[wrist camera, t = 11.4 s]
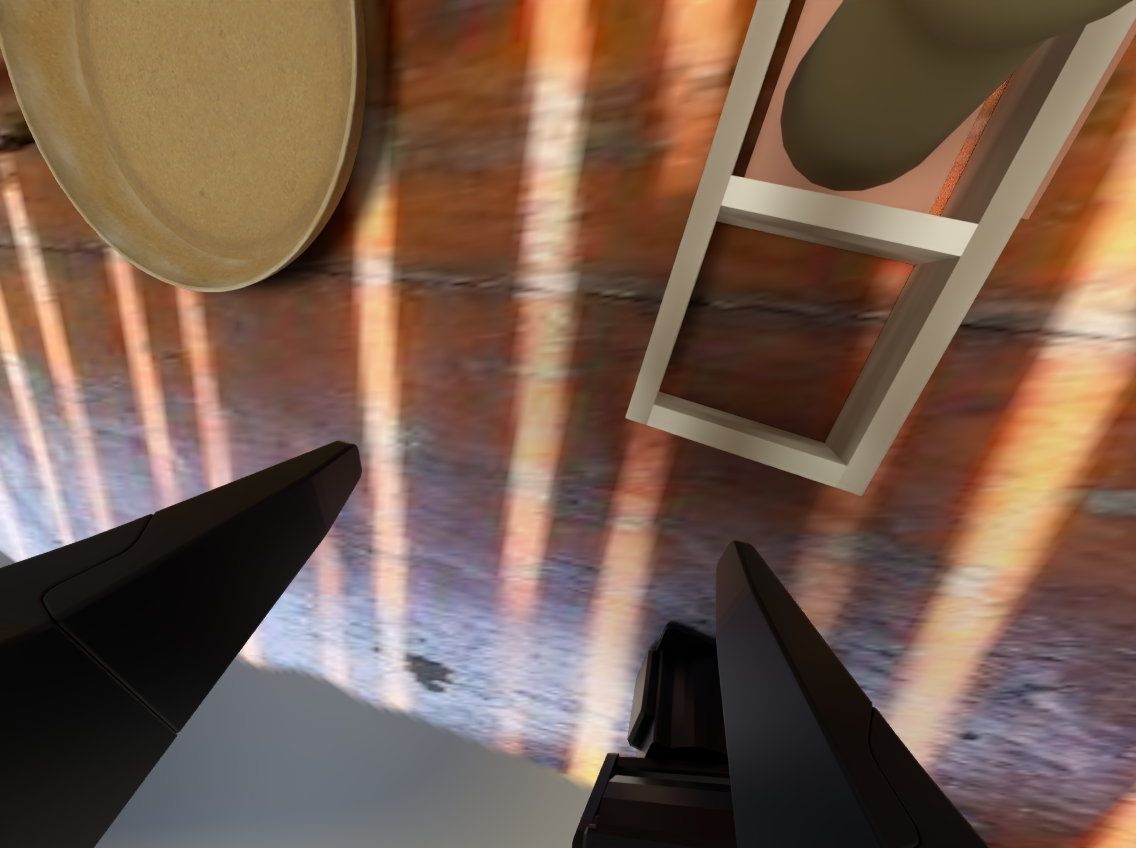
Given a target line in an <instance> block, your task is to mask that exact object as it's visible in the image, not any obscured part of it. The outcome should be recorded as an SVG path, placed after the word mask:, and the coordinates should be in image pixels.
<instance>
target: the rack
mask: <svg viewBox="0 0 1136 848" xmlns="http://www.w3.org/2000/svg"><path fill="white" fill-rule="evenodd" d="M842 2H843V0H806V1H805V4H804V7H803V10H802V13H801V16H800V18H799V21H798V24H797V27H796V30H795V33H794V36H793V38H792V41H791V44H790V47H789V50H788V53H787V56H786V59H785V61H784V64H783V67H782V70H781V73H780V76H779V79H778V82H777V84H776V87H775V90H774V93H773V96H772V99H771V102H770V104H769V107H768V110H767V113H766V116H765V119H764V122H763V125H762V127H761V130H760V133H759V136H758V139H757V142H756V145H755V147H754V150H753V153H752V156H751V159H750V162H749V165H748V168H747V170H746V173H745V176H744V178H742V177H737V176H732V174H733V171H734V168H735V165H736V162H737V159H738V156H739V153H740V151H741V148H742V145H743V142H744V139H745V136H746V133H747V130H748V127H749V124H750V121H751V118H752V115H753V112H754V109H755V106H756V103H757V100H758V97H759V94H760V92H761V89H762V86H763V83H764V80H765V77H766V74H767V71H768V68H769V65H770V62H771V59H772V56H773V53H774V50H775V47H776V44H777V41H778V38H779V35H780V33H781V30H782V27H783V24H784V21H785V18H786V15H787V12H788V9H789V6H790V3H791V0H758V1H757V4H756V7H755V10H754V13H753V16H752V20H751V23H750V26H749V29H748V32H747V35H746V39H745V42H744V45H743V48H742V51H741V54H740V57H739V61H738V64H737V67H736V70H735V73H734V76H733V80H732V83H731V86H730V89H729V92H728V95H727V99H726V102H725V105H724V108H723V111H722V114H721V117H720V121H719V124H718V127H717V130H716V133H715V136H714V140H713V143H712V146H711V149H710V152H709V155H708V158H707V162H706V165H705V168H704V171H703V174H702V177H701V181H700V184H699V187H698V190H697V193H696V196H695V200H694V203H693V206H692V209H691V212H690V215H689V218H688V222H687V225H686V228H685V231H684V234H683V237H682V241H681V244H680V247H679V250H678V253H677V256H676V260H675V263H674V266H673V269H672V272H671V275H670V278H669V282H668V285H667V288H666V291H665V294H664V297H663V301H662V304H661V307H660V310H659V313H658V316H657V319H656V323H655V326H654V329H653V332H652V335H651V338H650V342H649V345H648V348H647V351H646V354H645V357H644V361H643V364H642V367H641V370H640V373H639V376H638V379H637V383H636V386H635V389H634V392H633V395H632V398H631V402H630V405H629V408H628V411H627V414H626V417H625V418H627V419H630V420H633V421H636V422H639V423H642V424H645V425H648V426H651V427H654V428H657V429H660V430H663V431H666V432H669V433H672V434H675V435H678V436H681V437H684V438H687V439H690V440H693V441H696V442H699V443H702V444H705V445H708V446H711V447H714V448H717V449H720V450H723V451H727V452H730V453H733V454H736V455H739V456H742V457H745V458H748V459H751V460H754V461H757V462H760V463H763V464H766V465H769V466H772V467H775V468H778V469H781V470H784V471H787V472H790V473H793V474H796V475H799V476H802V477H805V478H808V479H811V480H814V481H817V482H820V483H823V484H826V485H829V486H832V487H836V488H839V489H842V490H845V491H848V492H851V493H854V494H857V495H860V496H862V495H863V493H864V491H865V490H866V488H867V486H868V484H869V483H870V481H871V479H872V477H873V476H874V474H875V472H876V471H877V469H878V467H879V465H880V464H881V462H882V460H883V458H884V457H885V455H886V453H887V451H888V450H889V448H890V446H891V444H892V443H893V441H894V439H895V437H896V436H897V434H898V432H899V430H900V429H901V427H902V425H903V423H904V422H905V420H906V418H907V416H908V415H909V413H910V411H911V409H912V408H913V406H914V404H915V402H916V401H917V399H918V397H919V395H920V394H921V392H922V390H923V388H924V387H925V385H926V383H927V381H928V380H929V378H930V376H931V374H932V373H933V371H934V369H935V367H936V366H937V364H938V362H939V360H940V359H941V357H942V355H943V353H944V352H945V350H946V348H947V346H948V345H949V343H950V341H951V339H952V338H953V336H954V334H955V333H956V331H957V329H958V327H959V326H960V324H961V322H962V320H963V319H964V317H965V315H966V313H967V312H968V310H969V308H970V306H971V305H972V303H973V301H974V299H975V298H976V296H977V294H978V292H979V291H980V289H981V287H982V285H983V284H984V282H985V280H986V278H987V277H988V275H989V273H990V271H991V270H992V268H993V266H994V264H995V263H996V261H997V259H998V257H999V256H1000V254H1001V252H1002V250H1003V249H1004V247H1005V245H1006V243H1007V242H1008V240H1009V238H1010V236H1011V235H1012V233H1013V231H1014V229H1015V228H1016V226H1017V224H1018V222H1021V221H1024V220H1028V219H1029V217H1030V215H1031V214H1032V212H1033V210H1034V208H1035V207H1036V205H1037V203H1038V201H1039V200H1040V198H1041V196H1042V195H1043V193H1044V191H1045V189H1046V188H1047V186H1048V184H1049V182H1050V181H1051V179H1052V177H1053V176H1054V174H1055V172H1056V170H1057V169H1058V167H1059V165H1060V163H1061V162H1062V160H1063V158H1064V157H1065V155H1066V153H1067V151H1068V150H1069V148H1070V146H1071V144H1072V143H1073V141H1074V139H1075V138H1076V136H1077V134H1078V132H1079V131H1080V129H1081V127H1082V125H1083V124H1084V122H1085V120H1086V119H1087V117H1088V115H1089V113H1090V112H1091V110H1092V108H1093V106H1094V105H1095V103H1096V101H1097V99H1098V98H1099V96H1100V94H1101V93H1102V91H1103V89H1104V87H1105V86H1106V84H1107V82H1108V80H1109V79H1110V77H1111V75H1112V74H1113V72H1114V70H1115V68H1116V67H1117V65H1118V63H1119V61H1120V60H1121V58H1122V56H1123V55H1124V53H1125V51H1126V49H1127V48H1128V46H1129V44H1130V42H1131V41H1132V39H1133V37H1134V36H1135V34H1136V0H1133V1H1131V2H1130V3H1128V4H1126V5H1125V6H1123V7H1122V8H1120V9H1118V10H1117V11H1115V12H1114V13H1112V14H1110V15H1109V16H1107V17H1104V18H1102V19H1099V20H1097V21H1094V22H1092V23H1089V24H1087V25H1084V26H1082V27H1080V28H1077V29H1074V30H1071V31H1069V32H1066V33H1063V34H1060V35H1058V36H1055V37H1052V38H1049V39H1047V40H1046V41H1045V42H1044V43H1043V44H1042V45H1041V46H1040V47H1039V48H1038V49H1037V50H1036V51H1035V52H1034V53H1033V54H1032V55H1031V56H1030V57H1029V58H1028V59H1027V60H1026V61H1025V62H1024V63H1023V64H1022V65H1021V66H1020V67H1019V68H1018V69H1017V70H1016V71H1015V72H1014V73H1013V74H1012V76H1011V78H1010V80H1009V82H1008V84H1007V86H1006V88H1005V90H1004V92H1003V94H1002V96H1001V98H1000V100H999V102H998V104H997V106H996V108H995V110H994V112H993V113H992V115H991V117H990V119H989V121H988V123H987V125H986V127H985V129H984V131H983V133H982V135H981V137H980V139H979V141H978V143H977V145H976V147H975V149H974V151H973V153H972V155H971V157H970V159H969V161H968V163H967V164H966V166H965V168H964V170H963V172H962V174H961V176H960V178H959V180H958V182H957V184H956V186H955V188H954V190H953V192H952V194H951V196H950V198H949V200H948V202H947V204H946V206H945V208H944V210H943V212H942V214H941V216H935V215H930V214H929V213H930V211H931V209H932V207H933V205H934V203H935V201H936V199H937V197H938V195H939V193H940V191H941V189H942V187H943V185H944V183H945V181H946V179H947V177H948V175H949V173H950V171H951V169H952V167H953V165H954V163H955V161H956V159H957V157H958V155H959V153H960V151H961V149H962V147H963V145H964V143H965V141H966V139H967V137H968V135H969V133H970V131H971V129H972V127H973V125H974V123H975V121H976V119H977V117H978V115H979V113H980V111H981V109H982V107H983V105H984V103H985V101H986V100H985V101H984V102H983V103H982V104H981V105H980V106H979V107H978V108H977V109H976V110H975V111H974V112H973V113H972V114H971V115H970V116H969V117H968V118H967V119H966V120H965V121H964V122H963V123H962V124H961V125H960V126H959V127H958V128H957V129H956V130H955V131H954V132H952V133H951V134H950V135H949V136H948V137H947V138H946V139H945V140H944V141H943V142H942V143H941V144H940V145H939V146H938V147H937V148H936V149H935V150H934V151H933V152H932V153H931V154H930V155H929V156H928V157H927V158H926V159H925V160H924V161H923V162H922V163H921V164H920V165H919V166H917V167H915V168H914V169H912V170H911V171H909V172H907V173H906V174H904V175H902V176H901V177H899V178H897V179H896V180H894V181H892V182H890V183H887V184H884V185H880V186H877V187H874V188H870V189H867V190H864V191H833V190H831V189H828V188H825V187H822V186H819V185H816V184H813V183H811V182H810V181H809V180H808V179H807V178H805V177H804V176H803V175H802V174H801V173H800V172H799V171H797V170H796V169H795V168H794V167H793V165H792V163H791V161H790V159H789V157H788V155H787V153H786V151H785V149H784V147H783V141H782V132H781V123H780V118H781V113H782V107H783V102H784V97H785V91H786V89H787V87H788V85H789V83H790V81H791V79H792V77H793V75H794V72H795V70H796V68H797V66H798V64H799V62H800V61H801V59H802V58H803V57H804V55H805V54H806V52H807V51H808V50H809V48H810V47H811V45H812V44H813V43H814V41H815V40H816V38H817V37H818V35H819V34H820V33H821V31H822V30H823V28H824V27H825V26H826V24H827V23H828V21H829V20H830V19H831V17H832V16H833V14H834V13H835V12H836V10H837V9H838V7H839V6H840V5H841V3H842ZM716 221H718V222H722V223H727V224H731V225H736V226H740V227H745V228H749V229H754V230H758V231H763V232H767V233H772V234H776V235H781V236H785V237H790V238H794V239H799V240H803V241H808V242H812V243H817V244H821V245H826V246H831V247H835V248H840V249H844V250H849V251H853V252H858V253H862V254H867V255H871V256H876V257H880V258H885V259H889V260H894V261H898V262H903V263H907V264H912V265H915V267H914V269H913V270H912V272H911V274H910V276H909V278H908V280H907V282H906V284H905V286H904V288H903V290H902V292H901V294H900V296H899V298H898V300H897V302H896V304H895V306H894V308H893V310H892V312H891V314H890V316H889V318H888V320H887V322H886V323H885V325H884V327H883V329H882V331H881V333H880V335H879V337H878V339H877V341H876V343H875V345H874V347H873V349H872V351H871V353H870V355H869V357H868V359H867V361H866V363H865V365H864V367H863V369H862V371H861V373H860V374H859V376H858V378H857V380H856V382H855V384H854V386H853V388H852V390H851V392H850V394H849V396H848V398H847V400H846V402H845V404H844V406H843V408H842V410H841V412H840V414H839V416H838V418H837V420H836V422H835V424H834V426H833V427H832V429H831V431H830V433H829V435H828V437H827V439H826V441H825V443H823V442H820V441H816V440H813V439H810V438H807V437H804V436H800V435H797V434H794V433H791V432H788V431H784V430H781V429H778V428H775V427H771V426H768V425H765V424H762V423H759V422H755V421H752V420H749V419H746V418H743V417H739V416H736V415H733V414H730V413H727V412H723V411H720V410H717V409H714V408H710V407H707V406H704V405H701V404H698V403H694V402H691V401H688V400H685V399H682V398H678V397H675V396H672V395H669V394H666V393H662V392H659V389H660V386H661V384H662V381H663V378H664V375H665V372H666V369H667V366H668V363H669V360H670V357H671V354H672V351H673V348H674V345H675V342H676V339H677V336H678V333H679V330H680V327H681V325H682V322H683V319H684V316H685V313H686V310H687V307H688V304H689V301H690V298H691V295H692V292H693V289H694V286H695V283H696V280H697V277H698V274H699V271H700V269H701V266H702V263H703V260H704V257H705V254H706V251H707V248H708V245H709V242H710V239H711V236H712V233H713V230H714V227H715V224H716Z"/></svg>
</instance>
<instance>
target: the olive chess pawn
mask: <svg viewBox="0 0 1136 848" xmlns="http://www.w3.org/2000/svg"><path fill="white" fill-rule="evenodd" d="M1131 1H1133V0H843V2H842V3H841V5H840V6H839V7H838V9H837V10H836V12H835V13H834V14H833V16H832V17H831V19H830V20H829V21H828V23H827V24H826V26H825V27H824V28H823V30H822V31H821V33H820V34H819V35H818V37H817V38H816V40H815V41H814V43H813V44H812V45H811V47H810V48H809V50H808V51H807V52H806V54H805V55H804V57H803V58H802V59H801V61H800V62H799V64H798V66H797V68H796V70H795V72H794V75H793V77H792V79H791V81H790V83H789V85H788V87H787V89H786V91H785V97H784V102H783V107H782V113H781V118H780V123H781V132H782V141H783V147H784V149H785V151H786V153H787V155H788V157H789V159H790V161H791V163H792V165H793V167H794V168H795V169H796V170H797V171H799V172H800V173H801V174H802V175H803V176H804V177H805V178H807V179H808V180H809V181H810V182H811V183H813V184H816V185H819V186H822V187H825V188H828V189H831V190H833V191H864V190H867V189H870V188H874V187H877V186H880V185H884V184H887V183H890V182H892V181H894V180H896V179H897V178H899V177H901V176H902V175H904V174H906V173H907V172H909V171H911V170H912V169H914V168H915V167H917V166H919V165H920V164H921V163H922V162H923V161H924V160H925V159H926V158H927V157H928V156H929V155H930V154H931V153H932V152H933V151H934V150H935V149H936V148H937V147H938V146H939V145H940V144H941V143H942V142H943V141H944V140H945V139H946V138H947V137H948V136H949V135H950V134H951V133H952V132H954V131H955V130H956V129H957V128H958V127H959V126H960V125H961V124H962V123H963V122H964V121H965V120H966V119H967V118H968V117H969V116H970V115H971V114H972V113H973V112H974V111H975V110H976V109H977V108H978V107H979V106H980V105H981V104H982V103H983V102H984V101H985V100H986V99H987V98H988V97H989V96H990V95H991V94H992V93H993V92H994V91H995V90H996V89H997V88H998V87H999V86H1000V85H1001V84H1002V83H1003V82H1004V81H1005V80H1007V79H1008V78H1009V77H1010V76H1011V75H1012V74H1013V73H1014V72H1015V71H1016V70H1017V69H1018V68H1019V67H1020V66H1021V65H1022V64H1023V63H1024V62H1025V61H1026V60H1027V59H1028V58H1029V57H1030V56H1031V55H1032V54H1033V53H1034V52H1035V51H1036V50H1037V49H1038V48H1039V47H1040V46H1041V45H1042V44H1043V43H1044V42H1045V41H1046V40H1047V39H1049V38H1052V37H1055V36H1058V35H1060V34H1063V33H1066V32H1069V31H1071V30H1074V29H1077V28H1080V27H1082V26H1084V25H1087V24H1089V23H1092V22H1094V21H1097V20H1099V19H1102V18H1104V17H1107V16H1109V15H1110V14H1112V13H1114V12H1115V11H1117V10H1118V9H1120V8H1122V7H1123V6H1125V5H1126V4H1128V3H1130V2H1131Z"/></svg>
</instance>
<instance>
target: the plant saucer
mask: <svg viewBox="0 0 1136 848" xmlns="http://www.w3.org/2000/svg"><path fill="white" fill-rule="evenodd" d="M0 47H1V50H2V54H3V57H4V60H5V63H6V66H7V69H8V73H9V76H10V79H11V82H12V85H13V88H14V91H15V94H16V98H17V100H18V103H19V105H20V108H21V110H22V113H23V115H24V118H25V120H26V122H27V124H28V126H29V129H30V131H31V133H32V135H33V137H34V140H35V142H36V144H37V146H38V148H39V150H40V152H41V154H42V156H43V157H44V159H45V161H46V163H47V164H48V166H49V168H50V170H51V172H52V173H53V175H54V177H55V179H56V180H57V182H58V184H59V185H60V186H61V188H62V189H63V191H64V192H65V194H66V195H67V196H68V198H69V199H70V201H71V202H72V204H73V205H74V206H75V208H76V209H77V210H78V212H79V213H80V214H81V215H82V216H83V218H84V219H85V220H86V221H87V223H88V224H89V225H90V226H91V227H92V228H93V229H94V230H95V231H96V232H97V233H98V234H99V236H100V237H101V238H102V239H104V240H105V241H106V242H107V243H108V244H109V245H110V246H111V247H112V248H113V249H114V250H115V251H117V252H118V253H119V254H120V255H121V256H123V257H124V258H125V259H126V260H128V261H129V262H131V263H132V264H133V265H135V266H136V267H138V268H139V269H141V270H142V271H144V272H146V273H147V274H149V275H151V276H153V277H155V278H157V279H159V280H161V281H164V282H166V283H169V284H171V285H174V286H177V287H181V288H184V289H189V290H194V291H202V292H224V291H230V290H235V289H240V288H243V287H246V286H249V285H251V284H254V283H257V282H259V281H262V280H264V279H266V278H268V277H270V276H272V275H274V274H275V273H277V272H279V271H280V270H282V269H283V268H285V267H286V266H287V265H289V264H290V263H291V262H293V261H294V260H295V259H296V258H297V257H299V256H300V255H301V254H302V253H303V252H304V251H305V250H306V249H307V248H308V247H309V246H310V245H311V243H312V242H313V241H314V240H315V239H316V237H317V236H318V235H319V233H320V232H321V231H322V230H323V228H324V227H325V225H326V224H327V222H328V221H329V219H330V218H331V216H332V214H333V212H334V211H335V209H336V207H337V205H338V203H339V201H340V199H341V197H342V195H343V193H344V191H345V188H346V186H347V183H348V181H349V178H350V175H351V172H352V169H353V166H354V162H355V159H356V155H357V151H358V148H359V142H360V137H361V132H362V127H363V119H364V110H365V101H366V81H367V51H366V33H365V21H364V13H363V5H362V0H0Z"/></svg>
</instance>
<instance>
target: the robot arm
mask: <svg viewBox="0 0 1136 848" xmlns="http://www.w3.org/2000/svg"><path fill="white" fill-rule="evenodd" d="M361 473H362V467H361V461H360V455H359V450H358V447H357V446H356V445H355V444H353V443H349V442H345V441H335V442H333V443H330V444H328V445H325V446H323V447H320V448H317V449H315V450H312V451H310V452H307V453H305V454H302V455H300V456H297V457H295V458H292V459H289V460H287V461H284V462H282V463H279V464H277V465H274V466H272V467H269V468H267V469H264V470H261V471H259V472H256V473H254V474H251V475H249V476H246V477H244V478H241V479H239V480H236V481H233V482H231V483H228V484H226V485H223V486H221V487H218V488H216V489H213V490H211V491H208V492H205V493H203V494H200V495H198V496H195V497H193V498H190V499H188V500H185V501H182V502H180V503H177V504H175V505H172V506H170V507H167V508H165V509H162V510H160V511H157V512H155V513H154V515H153V514H149V515H147V516H144V517H142V518H139V519H136V520H134V521H131V522H129V523H126V524H124V525H121V526H118V527H116V528H113V529H110V530H108V531H105V532H102V533H100V534H97V535H94V536H92V537H89V538H86V539H83V540H81V541H78V542H75V543H72V544H69V545H66V546H63V547H61V548H58V549H55V550H52V551H49V552H46V553H43V554H40V555H37V556H34V557H31V558H28V559H26V560H23V561H20V562H17V563H14V564H11V565H8V566H5V567H2V568H0V848H94V847H95V846H96V844H97V843H98V842H99V840H100V839H101V838H102V836H103V835H104V834H105V832H106V831H107V830H108V828H109V827H110V825H111V824H112V823H113V821H114V820H115V819H116V817H117V816H118V815H119V813H120V812H121V811H122V809H123V808H124V807H125V805H126V804H127V803H128V801H129V800H130V799H131V797H132V796H133V795H134V793H135V792H136V791H137V789H138V788H139V786H140V785H141V784H142V782H143V781H144V780H145V778H146V777H147V776H148V774H149V773H150V772H151V770H152V769H153V768H154V766H155V765H156V763H157V762H158V761H159V760H160V758H161V757H162V756H163V754H164V753H165V752H166V750H167V749H168V748H169V746H170V745H171V743H172V742H173V741H174V739H175V738H176V737H177V735H178V734H177V733H178V732H180V731H181V729H182V728H183V727H184V726H185V724H186V723H187V721H188V720H189V719H190V717H191V716H192V715H193V713H194V712H195V711H196V709H197V708H198V707H199V705H200V704H201V703H202V701H203V700H204V699H205V697H206V696H207V695H208V693H209V692H210V691H211V689H212V688H213V686H214V685H215V684H216V683H217V681H218V680H219V678H220V677H221V676H222V674H223V673H224V672H225V670H226V669H227V668H228V666H229V665H230V664H231V662H232V661H233V660H234V658H235V657H236V656H237V654H238V653H239V652H240V650H241V649H242V648H243V646H244V645H245V644H246V642H247V641H248V639H249V638H250V637H251V635H252V634H253V633H254V631H255V630H256V629H257V627H258V626H259V625H260V623H261V622H262V621H263V619H264V618H265V617H266V615H267V614H268V613H269V611H270V610H271V609H272V607H273V606H274V605H275V603H276V602H277V600H278V599H279V598H280V596H281V595H282V594H283V592H284V591H285V590H286V588H287V587H288V586H289V584H290V583H291V582H292V580H293V579H294V578H295V576H296V575H297V574H298V572H299V571H300V570H301V568H302V567H303V566H304V564H305V563H306V562H307V560H308V559H309V557H310V556H311V555H312V553H313V552H314V551H315V549H316V548H317V547H318V545H319V544H320V543H321V541H322V540H323V538H324V537H325V536H326V534H327V533H328V531H329V530H330V528H331V527H332V525H333V523H334V522H335V520H336V518H337V517H338V515H339V513H340V511H341V510H342V508H343V506H344V505H345V503H346V501H347V500H348V498H349V496H350V495H351V493H352V491H353V489H354V488H355V486H356V484H357V483H358V481H359V479H360V477H361ZM671 632H675V633H677V634H672V633H671ZM627 739H628V742H629V744H630V746H632V747H634V748H636V749H637V752H636V757H626V756H619V754H616V753H608V754H607V756H606V758H605V761H604V763H603V766H602V768H601V770H600V773H599V775H598V778H597V780H596V783H595V785H594V788H593V790H592V793H591V795H590V798H589V800H588V803H587V805H586V808H585V810H584V813H583V815H582V817H581V820H580V823H579V825H578V828H577V830H576V833H575V835H574V838H573V843H572V848H990V847H989V846H988V845H987V844H986V843H985V841H984V840H983V839H982V838H981V837H980V835H979V834H978V833H977V832H976V831H975V830H974V828H973V827H972V826H971V825H970V824H969V823H968V821H967V820H966V819H965V818H964V817H963V815H962V814H961V813H960V812H959V811H958V810H957V808H956V807H955V806H954V805H953V804H952V803H951V801H950V800H949V799H948V798H947V797H946V795H945V794H944V793H943V792H942V791H941V789H940V788H939V787H938V786H937V784H936V783H935V782H934V781H933V780H932V778H931V777H930V776H929V775H928V774H927V772H926V771H925V770H924V769H923V768H922V766H921V765H920V764H919V763H918V761H917V760H916V759H915V758H914V756H913V755H912V754H911V753H910V751H909V750H908V749H907V747H906V746H905V745H904V744H903V742H902V741H901V740H900V738H899V737H898V736H897V735H896V733H895V732H894V731H893V730H892V728H891V727H890V726H889V724H888V723H887V722H886V720H885V719H884V718H883V716H882V715H881V714H880V712H879V711H878V710H877V709H876V708H875V707H872V702H871V701H870V699H869V698H868V697H867V696H866V694H865V693H864V692H863V690H862V689H861V688H860V686H859V685H858V684H857V682H856V681H855V680H854V678H853V677H852V676H851V674H850V673H849V672H848V670H847V669H846V668H845V667H844V665H843V664H842V663H841V661H840V660H839V659H838V657H837V656H836V655H835V653H834V652H833V651H832V649H831V648H830V647H829V645H828V644H827V643H826V641H825V640H824V639H823V638H822V636H821V635H820V634H819V632H818V631H817V630H816V628H815V627H814V626H813V624H812V623H811V622H810V620H809V619H808V618H807V616H806V615H805V614H804V613H803V611H802V610H801V609H800V607H799V606H798V605H797V603H796V602H795V601H794V599H793V598H792V597H791V595H790V594H789V593H788V591H787V590H786V589H785V587H784V586H783V585H782V584H781V582H780V581H779V580H778V578H777V577H776V576H775V574H774V573H773V572H772V570H771V569H770V568H769V566H768V565H767V564H766V562H765V561H764V560H763V558H762V557H761V556H760V555H759V553H758V552H757V551H756V549H755V548H754V547H753V546H752V545H751V544H748V543H744V542H741V541H737V540H734V541H732V542H731V543H730V544H729V545H728V547H727V548H726V550H725V552H724V553H723V555H722V556H721V558H720V559H719V561H718V564H717V568H716V641H715V640H713V639H711V638H708V637H706V636H704V635H701V634H699V633H697V632H694V631H692V630H689V629H687V628H685V627H682V626H680V625H678V624H674V623H670V624H667V625H666V627H665V629H664V631H663V634H662V636H661V638H660V640H659V643H658V645H657V647H656V650H654V649H651V650H649V651H648V653H647V655H646V657H645V660H644V662H643V664H642V667H641V669H640V671H639V674H638V676H637V679H636V685H635V691H634V698H633V705H632V711H631V718H630V725H629V731H628V738H627Z"/></svg>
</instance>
